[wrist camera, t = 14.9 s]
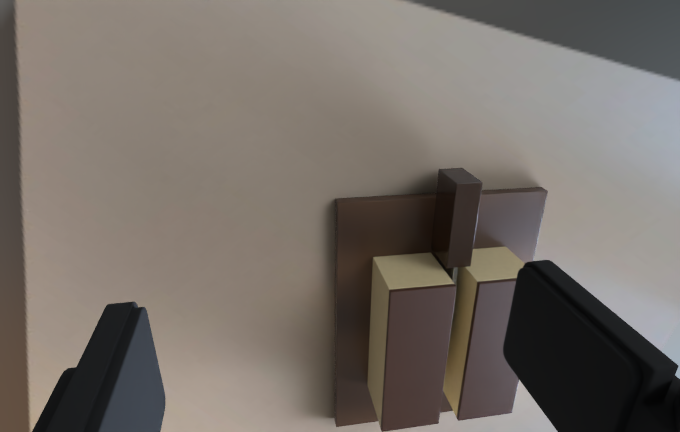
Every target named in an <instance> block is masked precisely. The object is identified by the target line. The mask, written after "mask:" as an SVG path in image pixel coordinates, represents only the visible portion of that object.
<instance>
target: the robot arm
mask: <svg viewBox="0 0 680 432" xmlns="http://www.w3.org/2000/svg"><path fill="white" fill-rule="evenodd" d="M503 354H504V358H505V360H506V362H507V363H508V365H509V366H510V367H511V369H512V370H513V371H514V373H515V374H516V375H517V377H518V378H519V380H520V381H521V382H522V384H523V385H524V386H525V388H526V389H527V390H528V392H529V393H530V394H531V396H532V397H533V399H534V400H535V401H536V403H537V404H538V405H539V407H540V408H541V409H542V411H543V412H544V413H545V415H546V416H547V418H548V419H549V420H550V422H551V423H552V424H553V426H554V427H555V428H556V430H557V431H558V432H680V379H679V378H677V377H676V376H675V373H676V371H677V368H678V365H677V364H676V363H674V362H673V361H672V360H671V359H669V358H668V357H667V356H666V355H665V354H663V353H662V352H661V351H660V350H659V349H657V348H656V347H655V346H654V345H653V344H651V343H650V342H649V341H648V340H646V339H645V338H644V337H643V336H642V335H640V334H639V333H638V332H637V331H636V330H634V329H633V328H632V327H631V326H629V325H628V324H627V323H626V322H625V321H623V320H622V319H621V318H620V317H619V316H617V315H616V314H615V313H614V312H612V311H611V310H610V309H609V308H608V307H606V306H605V305H604V304H603V303H602V302H600V301H599V300H598V299H597V298H595V297H594V296H593V295H592V294H591V293H589V292H588V291H587V290H586V289H585V288H583V287H582V286H581V285H580V284H578V283H577V282H576V281H575V280H574V279H572V278H571V277H570V276H569V275H568V274H566V273H565V272H564V271H563V270H561V269H560V268H559V267H558V266H557V265H555V264H554V263H553V262H551V261H550V260H542V261H532V262H527V263H525V264H524V266H523V268H521V269H520V270H519V271H518V274H517V279H516V284H515V289H514V294H513V299H512V304H511V309H510V314H509V320H508V325H507V330H506V335H505V340H504V345H503ZM164 411H165V392H164V388H163V383H162V379H161V374H160V369H159V365H158V360H157V356H156V351H155V347H154V342H153V337H152V333H151V328H150V324H149V319H148V314H147V311H146V308H145V307H139V308H138V306H137V304H136V303H135V302H126V303H116V304H108V305H107V306H106V307H105V309H104V311H103V313H102V316H101V318H100V320H99V322H98V324H97V326H96V328H95V330H94V332H93V334H92V336H91V338H90V340H89V343H88V345H87V347H86V349H85V351H84V353H83V355H82V357H81V359H80V361H79V363H78V365H77V367H75V368H68V369H67V370H65V371H64V372H63V374H62V375H61V377H60V379H59V381H58V383H57V384H56V386H55V388H54V390H53V392H52V394H51V396H50V398H49V400H48V402H47V404H46V406H45V408H44V410H43V412H42V414H41V416H40V418H39V420H38V421H37V423H36V425H35V427H34V429H33V431H32V432H160V430H161V425H162V420H163V416H164Z"/></svg>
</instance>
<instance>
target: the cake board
mask: <svg viewBox="0 0 680 432" xmlns="http://www.w3.org/2000/svg"><path fill="white" fill-rule="evenodd" d="M547 193H548V191H547V190H545V189H543V188H542V187H535V188H517V189H499V190H482V191H481V197H480V204H479V211H478V218H477V225H476V232H475V239H474V246H473V249H480V248H493V247H507V248H508V249H509V250H510V251H511V252H512V253H514V254H515V255H516V256H517V257H518V258H519V259H520V260H521V261H522V262H524V263H527V262H532V261H533V260H534V255H535V250H536V246H537V241H538V236H539V231H540V226H541V222H542V217H543V212H544V207H545V202H546V198H547ZM435 202H436V193H428V194H410V195H392V196H374V197H357V198H339V199H336V228H335V424H336V427H339V426H346V425H354V424H361V423H368V422H375V421H378V418H377V414H376V411H375V408H374V405H373V401H372V398H371V395H370V392H369V388H368V385H367V383H368V360H369V337H370V314H371V291H372V268H373V257H380V256H392V255H405V254H418V253H432V255H433V256H434V257H435V259H436V260H437V261H438V263H439V258H438V256H437V255H436V254H435V253H434V251H433V250H432V249H431V242H432V232H433V222H434V212H435ZM447 411H453V409H452V407H451V405H450V403H449V401H448V399H447V397H446V395H445V393H444V392H443V393H442V400H441V408H440V412H447Z"/></svg>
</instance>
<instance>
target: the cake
mask: <svg viewBox="0 0 680 432" xmlns="http://www.w3.org/2000/svg"><path fill="white" fill-rule="evenodd" d="M524 264H525V263H524V262H522V261H521V260H520V259H519V258H518V257H517V256H516V255H515V254H514V253H512V252H511V251H510V250H509V249H508V248H507V247H493V248H480V249H473V253H472V260H471V266H469V267H458V275H457V283H456V285H455V284H454V282H453V281H452V280H451V278H450V277H449V276H448V274H447V273H446V272H445V271H444V269H443V268H442V267H441V265H440V264H439V263H438V261H437V260H436V259H435V257H434V256H433V255H432V253H418V254H405V255H392V256H380V257H373V268H372V291H371V314H370V337H369V360H368V383H367V385H368V388H369V392H370V395H371V398H372V401H373V405H374V408H375V411H376V414H377V418H378V421H379V424H380V427H381V431H382V432H383V431H390V430H397V429H404V428H410V427H417V426H424V425H431V424H438V423H439V415H440V408H441V400H442V393H443V392H444V393H445V395H446V397H447V399H448V401H449V403H450V405H451V407H452V409H453V411H454V413H455V415H456V417H457V419H458V421H459V420H466V419H473V418H480V417H487V416H494V415H501V414H508V413H512V409H513V405H514V400H515V396H516V391H517V387H518V382H519V378H518V377H517V375H516V374H515V373H514V371H513V370H512V369H511V367H510V366H509V365H508V363H507V362H506V360H505V358H504V354H503V345H504V340H505V335H506V330H507V325H508V320H509V314H510V309H511V304H512V299H513V294H514V289H515V284H516V279H517V274H518V271H519V270H520V269H521V268H523V266H524Z"/></svg>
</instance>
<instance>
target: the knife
mask: <svg viewBox="0 0 680 432" xmlns="http://www.w3.org/2000/svg"><path fill="white" fill-rule="evenodd" d="M481 190H482V182H481V181H480V180H479V179H477V178H476V177H474V176H473V175H472V174H470V173H469V172H467V171H466V170H464V169H463V168H451V169H439V172H438V182H437V192H436V202H435V212H434V222H433V232H432V242H431V249H432V250H433V251H434V253H435V254H436V255H437V256H438V258H439V264H440V265H441V267H442V268H443V269H444V271H445V272H446V273H447V274H448V276H449V277H450V278H451V280H452V281H453V282H454V284H455V285H456V283H457V275H458V267H469V266H471V260H472V253H473V246H474V239H475V232H476V225H477V218H478V211H479V204H480V197H481Z"/></svg>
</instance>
